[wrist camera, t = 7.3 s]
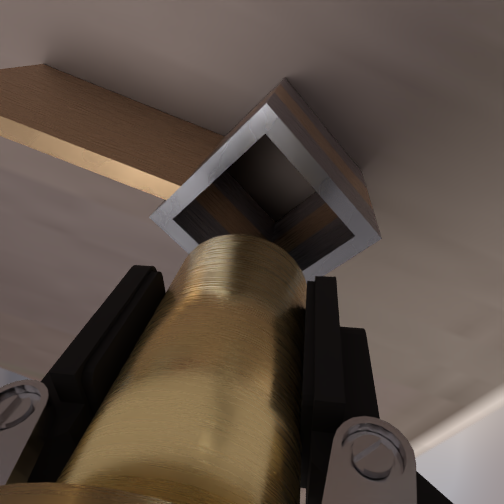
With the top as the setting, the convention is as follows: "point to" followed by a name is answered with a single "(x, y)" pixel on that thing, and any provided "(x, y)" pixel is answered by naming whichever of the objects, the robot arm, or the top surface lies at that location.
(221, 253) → the gold rounded cylinder
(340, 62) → the top surface
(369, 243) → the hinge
